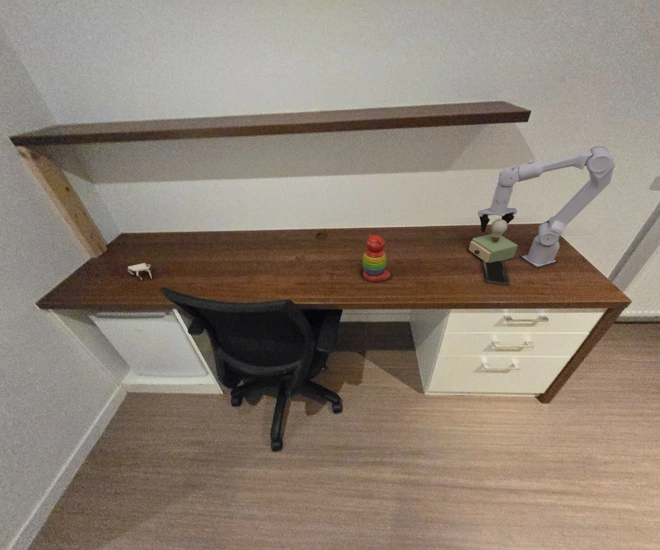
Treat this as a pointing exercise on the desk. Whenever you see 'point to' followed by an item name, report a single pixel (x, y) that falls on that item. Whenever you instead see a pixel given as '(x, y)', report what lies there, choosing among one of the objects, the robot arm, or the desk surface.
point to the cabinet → (497, 247)
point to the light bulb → (498, 229)
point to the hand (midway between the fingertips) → (491, 230)
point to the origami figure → (139, 268)
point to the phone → (495, 272)
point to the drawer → (479, 251)
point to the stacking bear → (375, 260)
